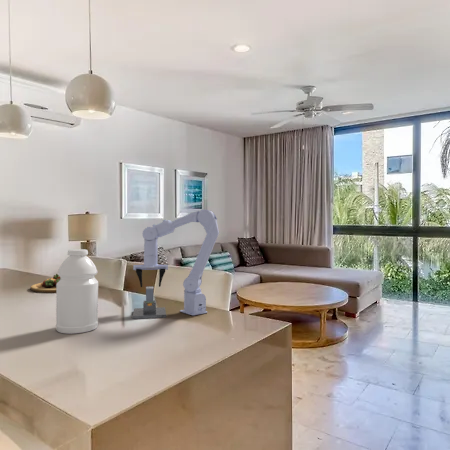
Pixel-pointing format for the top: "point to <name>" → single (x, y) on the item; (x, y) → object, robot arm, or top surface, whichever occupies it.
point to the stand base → (149, 311)
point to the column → (149, 294)
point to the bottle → (77, 294)
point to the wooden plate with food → (46, 285)
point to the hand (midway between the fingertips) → (150, 286)
